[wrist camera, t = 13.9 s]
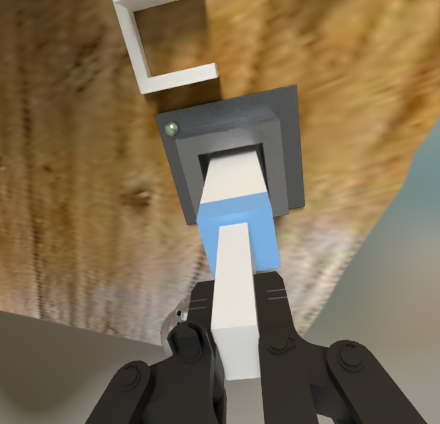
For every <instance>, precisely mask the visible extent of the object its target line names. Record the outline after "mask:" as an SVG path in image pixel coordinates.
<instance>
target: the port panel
mask: <svg viewBox="0 0 440 424" xmlns="http://www.w3.org/2000/svg"><path fill="white" fill-rule="evenodd" d="M155 117H156V120H157V124H158V127H159V131H160V134H161V138H162V141H163V144H164V148H165V151H166V155H167V158H168V161H169V165H170V168H171V172H172V175H173V178H174V182H175V185H176V189H177V192H178V196H179V199H180V202H181V206H182V209H183V213H184V216H185V219H186V223H187V225H189V224H195V223H197V221H196V219H197V215H198V211H199V206H200V202H201V198H202V193H203V189H204V185H205V180H206V176H207V172H208V167H209V163H210V159H211V154H212V152H216V151H221V150H226V149H232V148H237V147H242V146H248V145H253V144H254V146H255V150H256V154H257V157H258V161H259V164H260V168H261V172H262V175H263V179H264V182H265V186H266V190H267V193H268V197H269V200H270V204H271V208H272V214H273V217H276V216H283V215H289V209H291V208H298V207H304V206H305V200H304V185H303V171H302V156H301V142H300V127H299V113H298V98H297V85H291V86H286V87H281V88H277V89H272V90H267V91H262V92H258V93H253V94H248V95H244V96H239V97H234V98H229V99H225V100H220V101H215V102H210V103H206V104H201V105H196V106H192V107H187V108H182V109H177V110H173V111H168V112H163V113H158V114H156V115H155Z"/></svg>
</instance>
